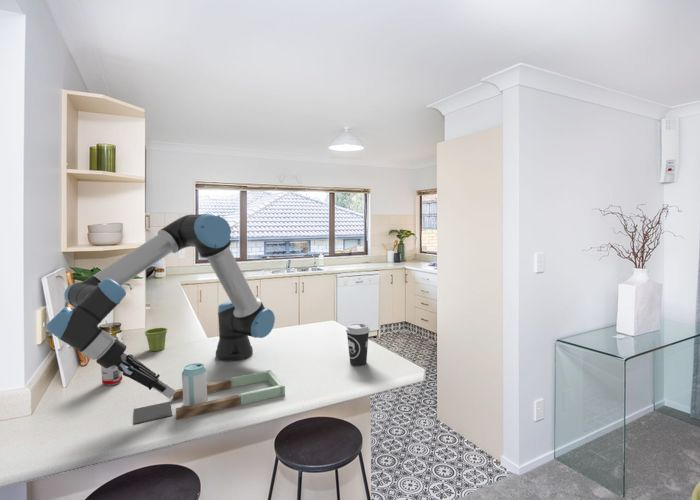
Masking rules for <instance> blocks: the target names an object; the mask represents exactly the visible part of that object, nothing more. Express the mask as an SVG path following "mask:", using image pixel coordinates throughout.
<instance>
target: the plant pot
mask: <svg viewBox="0 0 700 500" xmlns="http://www.w3.org/2000/svg"><path fill="white" fill-rule="evenodd" d="M167 332H168V328H167V327H155V328H149V329H147V330H146V329H145V331H144V332H143V334H145V336H146V340H147V344H148V350H149V351H150V352H159V351H162V350H164V349H165V348H166V336H167Z"/></svg>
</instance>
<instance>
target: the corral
mask: <svg viewBox="0 0 700 500" xmlns="http://www.w3.org/2000/svg"><path fill="white" fill-rule="evenodd" d="M229 379H230V381H231V389H232V388H237V387H243V386H246V385H251V384H257V383H260V382H265V381H268V382H269V384H271V386H268V387H265V388H264V387H263V388H260V389H256V390H251V391H247V392H246V391H245V392H242V393H239V394H238V395H239V397H240V406H243V405H247V404H251V403H255V402H260V401H264V400H268V399H269V400H270V399H273V398H276V397H281V396H286V386H285V384H284V383H283V382H282V381H281V380H280V379H279V378H278V376H277V375H276V374H275V373H274V372H273V371H272V369H268V370H263V371H258V372H254V373H253V372H252V373H248V374H243V375H237V376H232V377H231V376H230V377H229Z"/></svg>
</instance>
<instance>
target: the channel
mask: <svg viewBox="0 0 700 500" xmlns="http://www.w3.org/2000/svg"><path fill="white" fill-rule="evenodd" d="M230 388H231V381H230V378H229V379H224V380H219V381H214V382H209V383H208V382H207V394H211V393H215V391H216V392H220V390H221V391H224V390H225V389H226V390H230ZM231 389H232V388H231ZM176 391H177V392H176V393H175V394H174V395H173V396H172V400H173V401H176V400H177V399H178V400H183V387H181V388H177V389H176ZM238 406H239V407H240V406H241V404H240V395H239V394H236V395H231V396H226V397H222V398H218V399H217V398H216V399H214V400H207V402H203V403H198V404H194V405H189V406H181V407H175V417H176V420H182V419H185V418H190V417H193V416H195V417H196V416H199V415H203V414H207V413H212V412H215V411H221V410H224V409H229V408H234V407H238Z"/></svg>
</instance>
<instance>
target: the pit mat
mask: <svg viewBox="0 0 700 500" xmlns="http://www.w3.org/2000/svg"><path fill="white" fill-rule="evenodd" d="M172 416H173V410H172V404H171V401H167V402H162V403H155V404H150V405H145V406H142V407H137V408H133V425H137V424H138V425H139V424H143V423H146V422H153V421H156V420H160V419H165V418H170V417H172Z"/></svg>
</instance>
